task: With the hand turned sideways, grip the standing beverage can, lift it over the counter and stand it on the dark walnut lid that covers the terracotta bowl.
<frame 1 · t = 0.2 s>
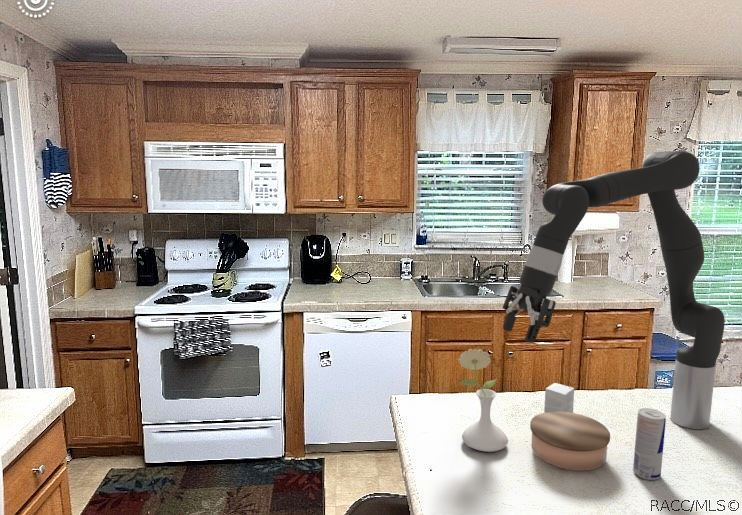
hand: (517, 335, 122), 31 cm above the kitchen island, tool tilted 20°, fingers open, 8 cm apart
product box: (558, 413, 152), on the kitchen island
flower in vase: (481, 444, 135), on the kitchen island
lidded bowl: (567, 456, 129), on the kitchen island
beverage can: (646, 475, 121), on the kitchen island
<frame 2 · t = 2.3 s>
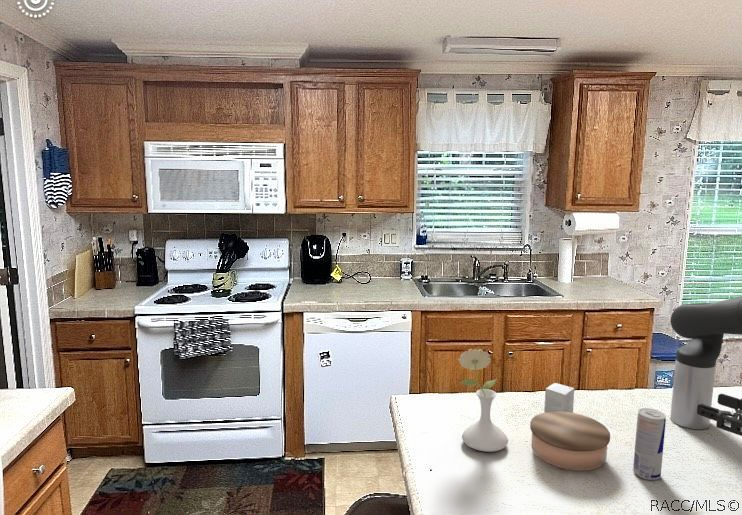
hand: (708, 403, 108), 22 cm above the kitchen island, tool horizontal, fingers open, 8 cm apart
nothing on the kitchen island moved.
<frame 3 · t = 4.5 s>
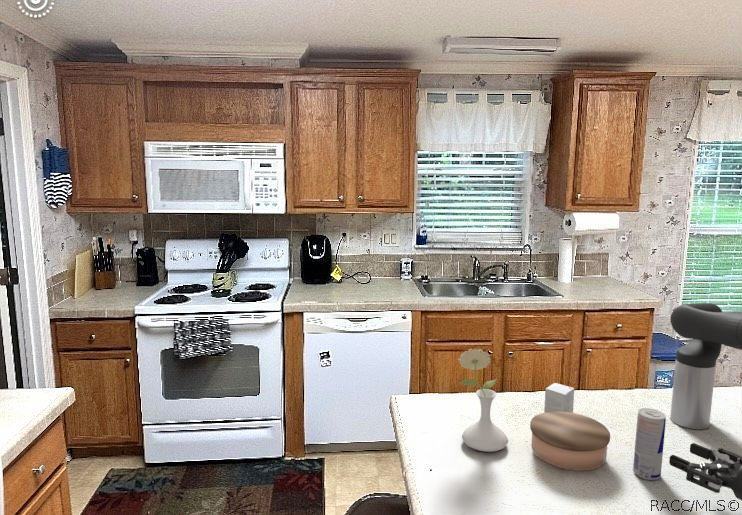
hand: (680, 453, 114), 8 cm above the kitchen island, tool horizontal, fingers open, 8 cm apart
nothing on the kitchen island moved.
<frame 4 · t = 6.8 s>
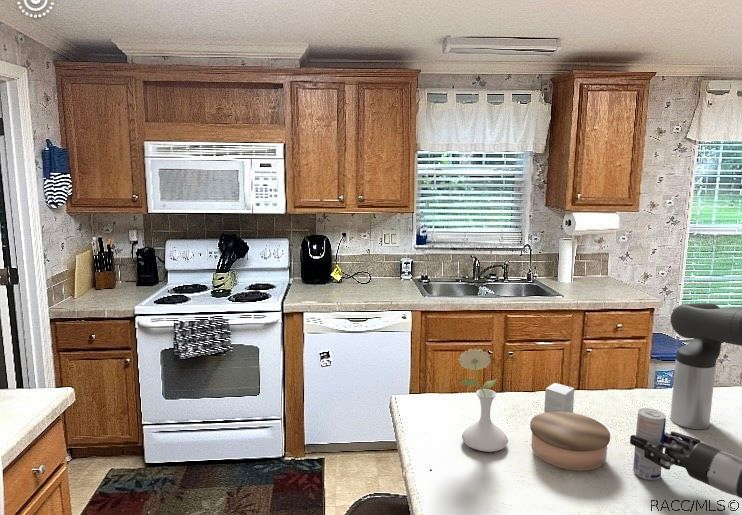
hand: (638, 435, 121), 9 cm above the kitchen island, tool horizontal, fingers closed on beverage can, 5 cm apart
beverage can: (646, 475, 121), on the kitchen island, touching gripper
everything else where it was.
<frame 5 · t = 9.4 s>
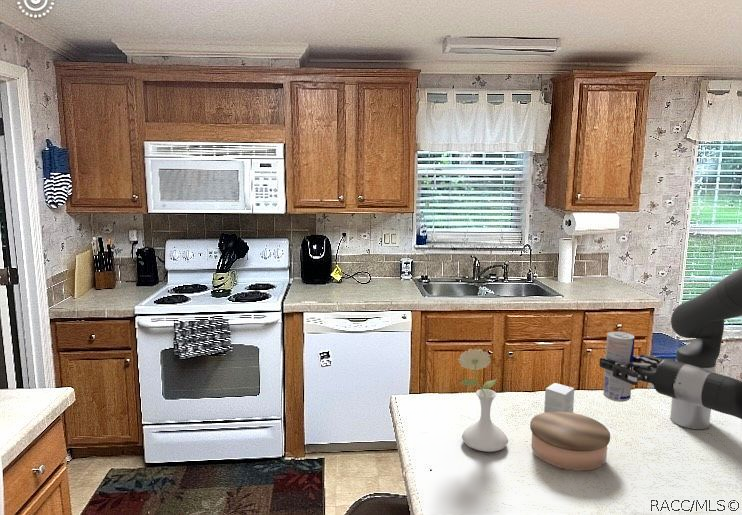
hand: (608, 359, 122), 26 cm above the kitchen island, tool horizontal, fingers closed on beverage can, 5 cm apart
beverage can: (616, 398, 121), point 17 cm above the kitchen island, touching gripper
everything else where it was.
when the fingers open (17 cm above the kitchen island, at t = 12.1 s): beverage can drops 1 cm, resting on lidded bowl.
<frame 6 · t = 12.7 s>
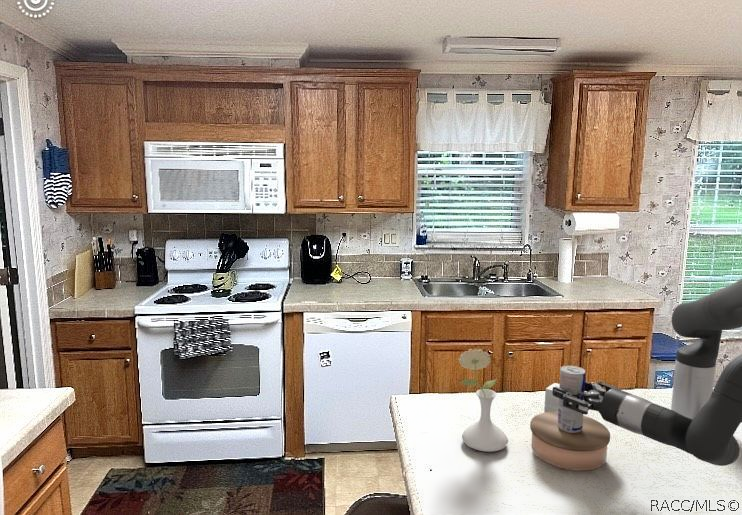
hand: (564, 386, 127), 17 cm above the kitchen island, tool horizontal, fingers open, 8 cm apart
beverage can: (569, 429, 127), point 7 cm above the kitchen island, touching lidded bowl
everything else where it was.
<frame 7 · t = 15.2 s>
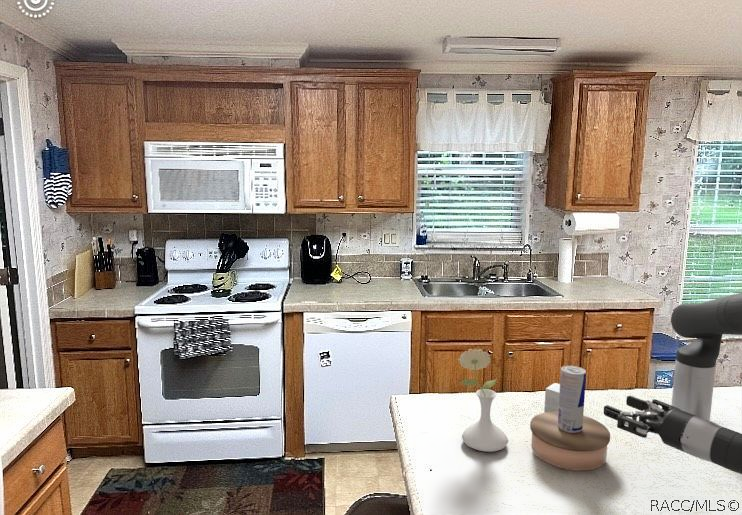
hand: (616, 404, 117), 17 cm above the kitchen island, tool horizontal, fingers open, 8 cm apart
nothing on the kitchen island moved.
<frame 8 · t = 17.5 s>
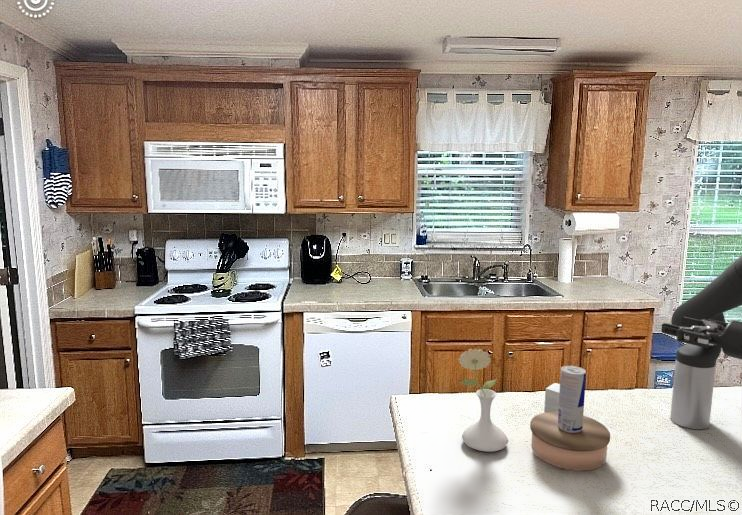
hand: (672, 324, 120), 34 cm above the kitchen island, tool horizontal, fingers open, 8 cm apart
nothing on the kitchen island moved.
at the end: beverage can 0.1 cm from the lidded bowl (horizontally); beverage can touching lidded bowl; beverage can tilted 0° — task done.
